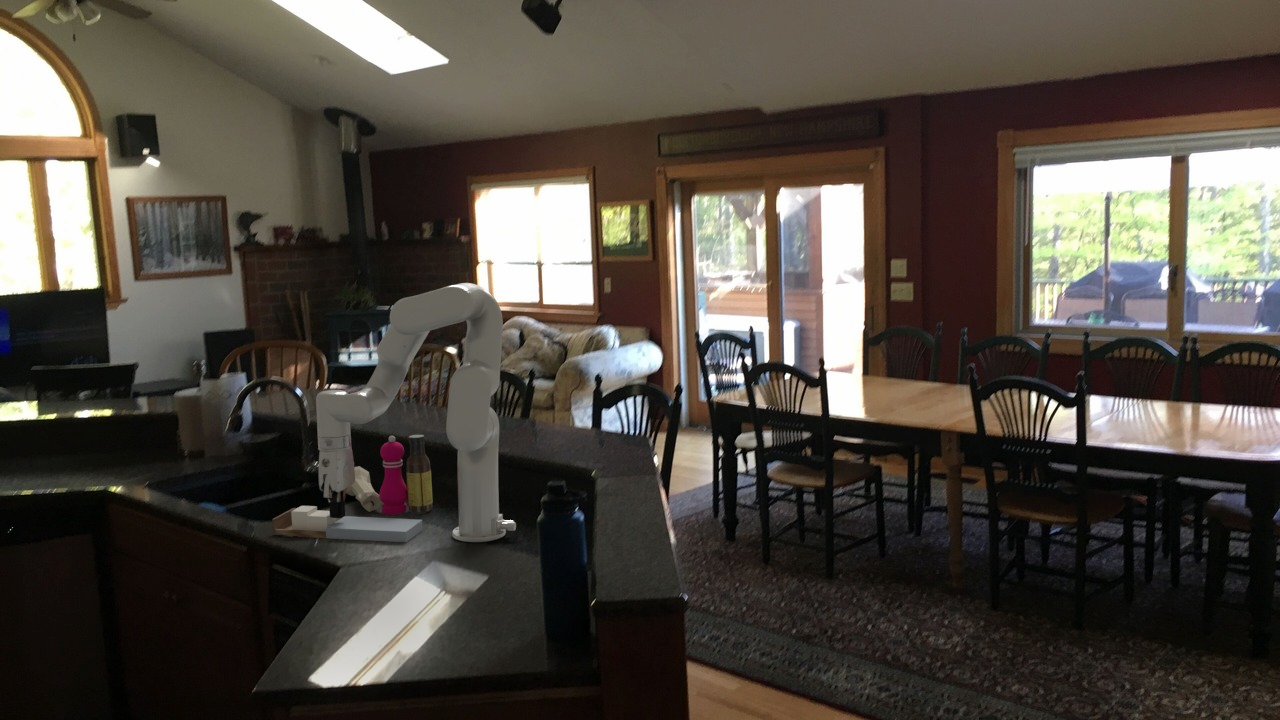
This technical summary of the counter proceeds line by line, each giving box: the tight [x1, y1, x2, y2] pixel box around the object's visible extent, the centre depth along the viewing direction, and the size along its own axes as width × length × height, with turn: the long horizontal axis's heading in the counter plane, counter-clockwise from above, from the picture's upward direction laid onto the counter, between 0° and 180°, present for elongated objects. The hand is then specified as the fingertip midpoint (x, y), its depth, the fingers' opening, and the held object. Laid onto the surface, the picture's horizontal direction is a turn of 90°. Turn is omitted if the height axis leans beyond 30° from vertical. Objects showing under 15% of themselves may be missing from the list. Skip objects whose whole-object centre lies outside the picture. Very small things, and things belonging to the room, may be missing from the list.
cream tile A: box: [307, 509, 338, 531], centre depth 237 cm, size 5×5×4 cm
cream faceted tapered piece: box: [346, 465, 382, 513], centre depth 263 cm, size 9×8×25 cm
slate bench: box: [325, 515, 424, 543], centre depth 235 cm, size 20×10×2 cm, turn 81°
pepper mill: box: [379, 435, 408, 516], centre depth 254 cm, size 7×7×20 cm
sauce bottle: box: [405, 434, 434, 514], centre depth 254 cm, size 6×6×20 cm
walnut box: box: [271, 507, 339, 539], centre depth 238 cm, size 14×10×4 cm
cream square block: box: [291, 505, 318, 530], centre depth 238 cm, size 5×5×4 cm
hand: (337, 516), depth 237 cm, fingers closed
